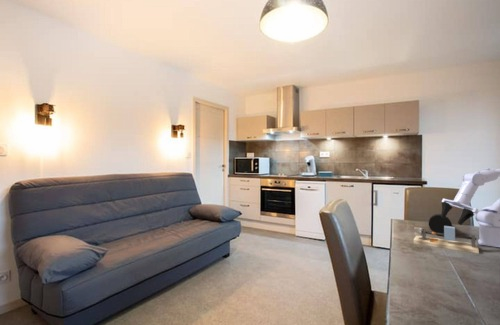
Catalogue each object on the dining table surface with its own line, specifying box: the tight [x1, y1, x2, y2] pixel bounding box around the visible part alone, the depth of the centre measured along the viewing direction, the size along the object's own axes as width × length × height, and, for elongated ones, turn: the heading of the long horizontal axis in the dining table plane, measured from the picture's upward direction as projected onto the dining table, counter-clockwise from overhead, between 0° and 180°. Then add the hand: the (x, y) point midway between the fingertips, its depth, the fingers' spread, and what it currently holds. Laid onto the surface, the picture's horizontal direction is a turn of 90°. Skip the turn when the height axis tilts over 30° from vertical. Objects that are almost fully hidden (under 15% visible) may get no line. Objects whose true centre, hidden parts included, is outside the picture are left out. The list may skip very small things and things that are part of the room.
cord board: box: [412, 226, 480, 254], centre depth 122 cm, size 24×10×6 cm, turn 52°
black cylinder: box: [428, 213, 453, 234], centre depth 151 cm, size 10×34×10 cm, turn 144°
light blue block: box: [443, 226, 456, 241], centre depth 121 cm, size 4×4×6 cm
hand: (450, 220), depth 122 cm, fingers open, 7 cm apart
